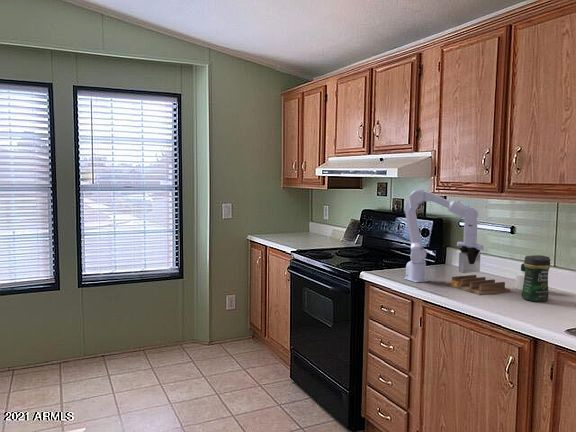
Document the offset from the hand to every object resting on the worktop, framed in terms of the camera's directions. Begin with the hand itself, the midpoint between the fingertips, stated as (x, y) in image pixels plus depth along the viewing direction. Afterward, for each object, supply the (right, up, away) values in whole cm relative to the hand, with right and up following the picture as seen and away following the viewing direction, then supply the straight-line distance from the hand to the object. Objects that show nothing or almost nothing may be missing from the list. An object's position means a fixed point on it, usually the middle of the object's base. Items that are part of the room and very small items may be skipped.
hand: (469, 263), depth 225 cm
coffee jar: (+18, -13, -25) cm, 33 cm away
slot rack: (+2, -11, -4) cm, 12 cm away
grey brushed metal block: (0, -4, 0) cm, 4 cm away
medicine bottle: (+23, -12, -7) cm, 27 cm away
